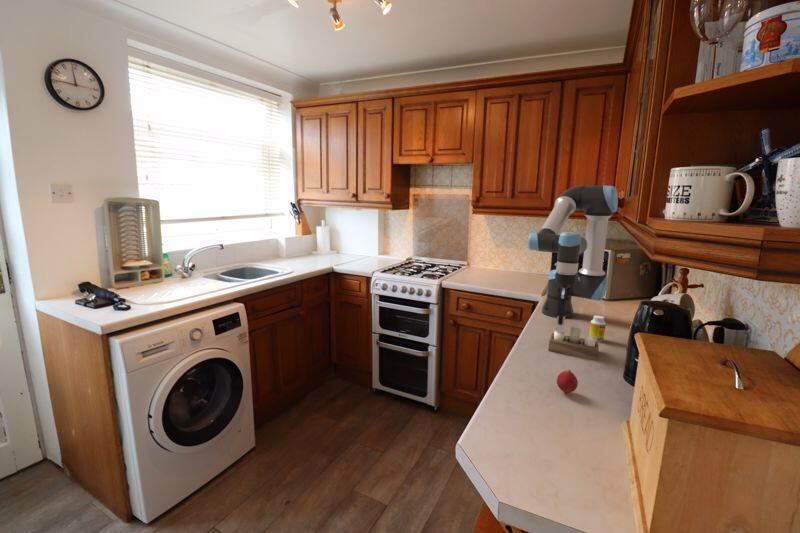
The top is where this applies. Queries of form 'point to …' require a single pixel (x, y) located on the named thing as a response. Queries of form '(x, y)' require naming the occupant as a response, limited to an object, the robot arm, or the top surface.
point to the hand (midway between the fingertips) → (559, 331)
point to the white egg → (590, 341)
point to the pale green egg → (574, 335)
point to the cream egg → (559, 336)
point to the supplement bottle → (597, 328)
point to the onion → (567, 381)
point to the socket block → (574, 348)
